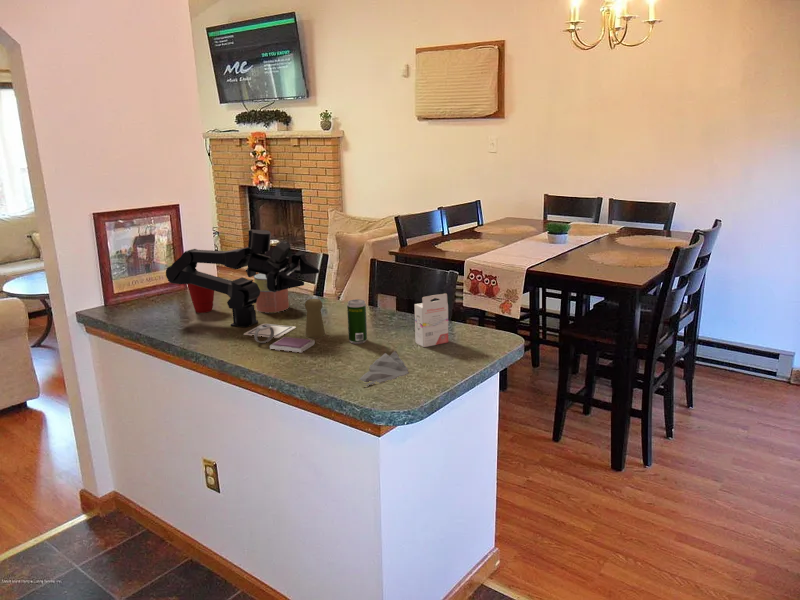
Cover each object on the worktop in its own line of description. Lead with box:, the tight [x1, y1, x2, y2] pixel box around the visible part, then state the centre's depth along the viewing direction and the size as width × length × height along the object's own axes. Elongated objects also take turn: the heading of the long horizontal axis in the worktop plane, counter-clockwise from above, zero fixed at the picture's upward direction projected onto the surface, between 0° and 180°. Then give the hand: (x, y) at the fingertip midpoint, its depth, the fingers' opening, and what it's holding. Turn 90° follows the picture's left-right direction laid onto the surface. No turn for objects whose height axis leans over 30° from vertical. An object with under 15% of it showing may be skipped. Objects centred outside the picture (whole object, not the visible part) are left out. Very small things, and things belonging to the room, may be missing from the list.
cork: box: [304, 298, 326, 339], centre depth 188 cm, size 6×6×11 cm
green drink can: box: [346, 298, 368, 345], centre depth 181 cm, size 5×5×12 cm
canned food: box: [253, 273, 290, 314], centre depth 218 cm, size 11×11×12 cm
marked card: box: [243, 323, 297, 339], centre depth 194 cm, size 12×11×1 cm
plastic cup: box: [186, 284, 215, 314], centre depth 217 cm, size 11×11×12 cm
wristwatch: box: [253, 323, 274, 344], centre depth 183 cm, size 6×3×5 cm, turn 137°
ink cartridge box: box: [414, 292, 449, 348], centre depth 179 cm, size 9×5×15 cm, turn 118°
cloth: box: [358, 350, 410, 386], centre depth 160 cm, size 26×14×2 cm, turn 152°
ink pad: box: [269, 336, 316, 354], centre depth 179 cm, size 10×8×2 cm
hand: (311, 277), depth 188 cm, fingers open, 9 cm apart
